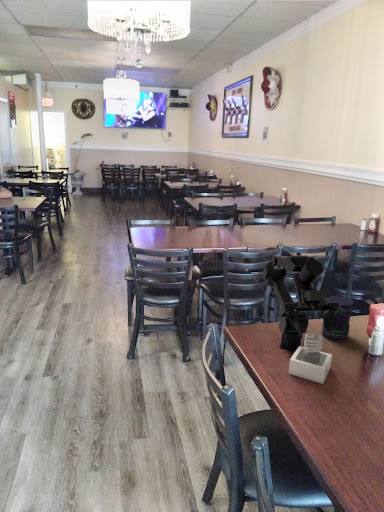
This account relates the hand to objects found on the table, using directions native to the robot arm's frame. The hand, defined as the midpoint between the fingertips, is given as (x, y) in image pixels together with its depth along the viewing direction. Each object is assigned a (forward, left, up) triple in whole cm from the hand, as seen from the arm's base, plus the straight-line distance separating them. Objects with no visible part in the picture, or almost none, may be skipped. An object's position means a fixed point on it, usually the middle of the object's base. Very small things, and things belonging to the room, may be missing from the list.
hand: (315, 334), depth 126 cm
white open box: (-1, +1, -14) cm, 14 cm away
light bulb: (-1, +1, -13) cm, 13 cm away
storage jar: (+1, +32, -14) cm, 35 cm away
